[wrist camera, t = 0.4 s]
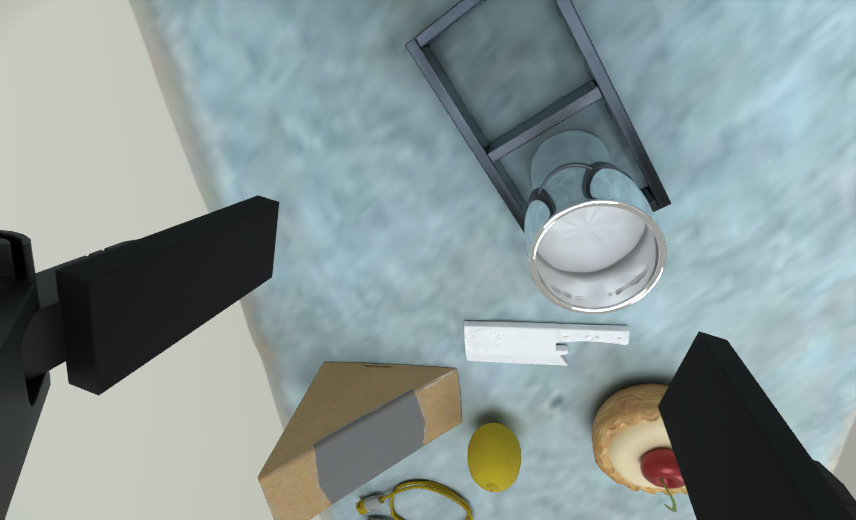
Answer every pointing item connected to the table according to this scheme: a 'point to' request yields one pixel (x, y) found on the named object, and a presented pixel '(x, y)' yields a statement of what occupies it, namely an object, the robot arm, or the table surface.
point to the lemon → (494, 457)
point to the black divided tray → (539, 122)
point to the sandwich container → (355, 431)
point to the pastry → (636, 442)
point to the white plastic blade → (533, 340)
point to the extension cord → (377, 500)
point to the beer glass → (589, 228)
